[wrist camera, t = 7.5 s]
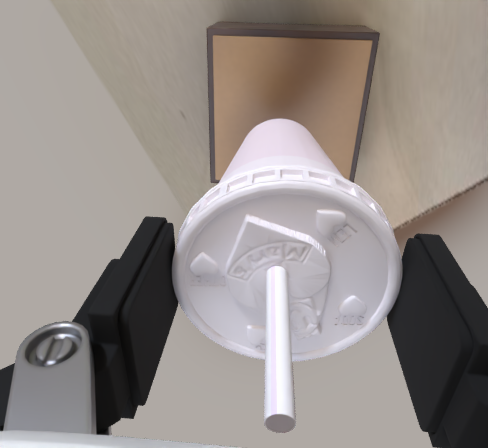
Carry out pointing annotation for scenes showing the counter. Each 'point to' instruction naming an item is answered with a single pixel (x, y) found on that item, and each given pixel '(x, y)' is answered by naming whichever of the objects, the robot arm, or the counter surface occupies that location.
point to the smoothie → (285, 260)
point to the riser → (289, 85)
